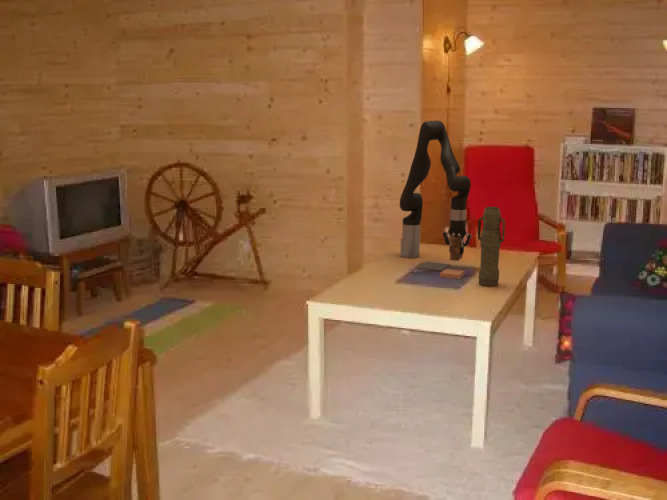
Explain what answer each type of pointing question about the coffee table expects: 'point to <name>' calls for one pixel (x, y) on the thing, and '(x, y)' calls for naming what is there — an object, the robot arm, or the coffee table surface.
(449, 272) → the tile
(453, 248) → the tall wooden block
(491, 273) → the olive canister
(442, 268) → the rest mat
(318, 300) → the coffee table surface
